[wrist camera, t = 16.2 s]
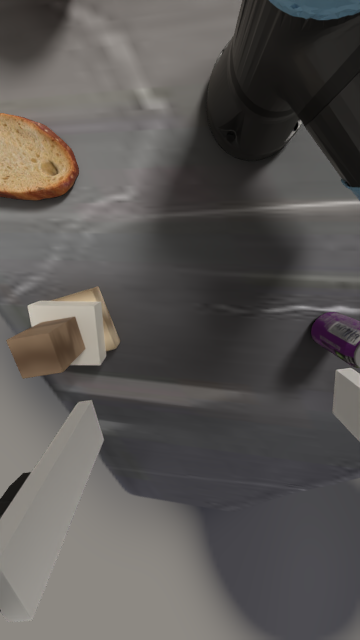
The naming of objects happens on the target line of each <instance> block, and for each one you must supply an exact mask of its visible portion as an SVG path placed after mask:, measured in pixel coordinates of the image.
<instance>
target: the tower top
mask: <svg viewBox="0 0 360 640" xmlns="http://www.w3.org/2000/svg"><path fill="white" fill-rule="evenodd" d="M28 310H29V315H30V321H31V326H32V327H33V326H35V325H37V324H39V323H41V322H46V321H52V320H57V319H63V318H69V317H75V318H76V321H77V324H78V327H79V330H80V333H81V336H82V339H83V342H84V345H85V348H86V349H85V350H84V351H83V352H82V353H81V354H80V355H79V356H78V357H77V358H76V359H75V360H74V361H73V362H72V363H71V364H70V365H101V364H102V362H103V361H104V359H105V358H106V348H105V338H104V327H103V317H102V306H101V302H94V301H38V302H36V303H33V304H30V305H28Z"/></svg>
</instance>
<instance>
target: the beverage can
mask: <svg viewBox="0 0 360 640" xmlns="http://www.w3.org/2000/svg"><path fill="white" fill-rule="evenodd" d="M311 335H312V338H313V340H314V341H315V342H316V343H318V344H319V345H321V346H322V347H324V348H325V349H327V350H328V351H330V352H331V353H333V354H334V355H336V356H337V357H339V358H340V359H342V360H343V361H345V362H346V363H348V364H349V365H351V366H353V367H356V368H360V321H357V320H355V319H352V318H350V317H347V316H345V315H342V314H340V313H336V312H329V313H325V314H323V315H321V316H320V317H318V318H317V319H316V321H315V322H314V324H313V326H312V329H311Z"/></svg>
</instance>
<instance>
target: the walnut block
mask: <svg viewBox="0 0 360 640" xmlns="http://www.w3.org/2000/svg"><path fill="white" fill-rule="evenodd" d="M7 343H8V346H9V348H10V350H11V353H12V355H13V357H14V359H15V362H16V364H17V366H18V369H19V371H20V373H21V376H22V378H30V377H35V376H42V375H48V374H55V373H61V372H64V371H65V370H66V369H67V367H68V366H69V365H70V364H71V363H72V362H73V361H74V360H75V359H76V358H77V357H78V356H79V355H80V354H81V353H82V352H83V351H84V350H85V349H86V348H85V345H84V342H83V339H82V336H81V333H80V330H79V327H78V324H77V321H76V318H75V317H69V318H63V319H57V320H52V321H46V322H41V323H39V324H37V325H35V326H33V327H31V328H29V329H27V330H25V331H23V332H21V333H19V334H17V335H15V336H13V337H12V338H10V339H8V340H7Z"/></svg>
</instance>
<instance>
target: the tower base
mask: <svg viewBox="0 0 360 640" xmlns="http://www.w3.org/2000/svg"><path fill="white" fill-rule="evenodd" d="M51 301H94V302H101V306H102V317H103V327H104V338H105V348H106V351H109V350H113V349H116V348H117V346H118V345H119V343H120V339H119V337H118V334H117V332H116V329H115V327H114V324H113V322H112V319H111V317H110V315H109V312H108V310H107V307H106V305H105V302H104V300H103V297H102V295H101V292H100V290H99V287H95V288H91V289H88V290H85V291H81V292H78V293H75V294H71V295H68V296H65V297H61V298H58V299H55V300H51Z"/></svg>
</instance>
